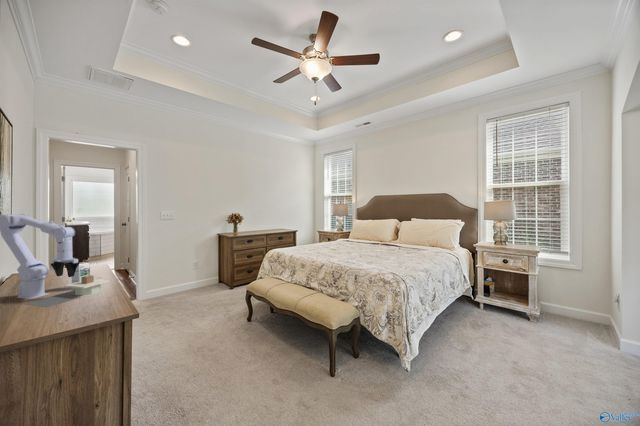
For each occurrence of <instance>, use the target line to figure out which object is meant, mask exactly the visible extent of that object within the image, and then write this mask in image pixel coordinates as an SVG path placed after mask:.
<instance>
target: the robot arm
mask: <svg viewBox="0 0 640 426" xmlns="http://www.w3.org/2000/svg"><path fill="white" fill-rule="evenodd" d="M27 226H29V227H33V228H37V229H40V231H41V232H42V233H45V234H48V235H51V236H53V237H54V238H55V242H56V257H54V258H51V263H50V266H51V268H52V269H53V270H54V273H55V276H56V277H61V276H63V274H64V268H66V273H67V277H68V278H71V277H73V276H74V274H75V271H76V268H77V267H78V265H79V263H80V262H79V258H75V257H73V255H74V253H73V237H75V235H76V230H75V228H73V227H72V226H64V224H59V223H58V224H57V223H55V221H46V222H45V221H41V220H39V219H36V218H34V217H31V216H30V215H28V214H27V215H26V214H23V213H20V214H0V235H1V238H2V239H3V240H4V242H5V243H6V245H7V246H8V248H9V250H10V251H11V252H12V254H13V256H14V257H15V258H16V260H17V262H18V263H19V266H18V268H17V269H16V270H17V273H18V278H19V279H20V280H21V281H20V283H19V284H18V296H16V298H18V299H28V300H32V299H36V298H39V297H44V296H47V295H50V293H49V292H47V293H46V292H45V290H46V289H45V278H46V277H47V275H48V274H49V272H50V268H49V267H48V266H47V265H46V264H45V263H43V261H42V260H38V259H36V258H35V257H34V254H33V253H32V252H31V250H30V249H29V247H28V245H27V243H25V241H24V239H23V238H22V237H21V235H20V232H22V231H23V230H24V228H25V227H27Z"/></svg>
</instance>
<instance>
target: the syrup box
mask: <svg viewBox="0 0 640 426" xmlns="http://www.w3.org/2000/svg"><path fill="white" fill-rule="evenodd" d="M90 263H91V262H85V261H84V262H83V261H82V262H79V265H78V267H77V268H76V271H75V274H74V276H73V277H70V278H71V284H72V283H76V282H80V281H81V277H83V276H88V275H91V270H90V269H91V268H90V267H91V264H90ZM71 289H72V290H75V287H71Z"/></svg>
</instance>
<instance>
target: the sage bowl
mask: <svg viewBox="0 0 640 426" xmlns="http://www.w3.org/2000/svg"><path fill="white" fill-rule="evenodd" d="M101 288H102V287H101V284H98V285H94V286H91V287H87V288H75V289H74V296H87V295H88V296H89V295H94V294H96V293H100V291H101Z"/></svg>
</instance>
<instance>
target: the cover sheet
mask: <svg viewBox="0 0 640 426" xmlns="http://www.w3.org/2000/svg"><path fill="white" fill-rule="evenodd" d="M109 282H110V280H109V279H99V278H97V279H96V278H94V275H91V274H90V275H88V276H83V277H81V281H80V282H76V283H72V282H71V283H68V284H64V285H63V286H64V287H66V288H72V287H75V288H87V287H91V286H94V285H98V284H105V283H109Z"/></svg>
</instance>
